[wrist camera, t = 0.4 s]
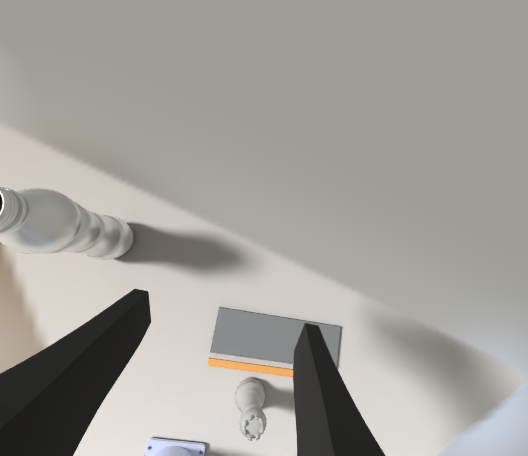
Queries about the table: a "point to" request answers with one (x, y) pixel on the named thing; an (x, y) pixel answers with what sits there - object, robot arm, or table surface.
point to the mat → (265, 335)
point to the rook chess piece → (251, 407)
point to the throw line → (250, 367)
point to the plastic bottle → (58, 225)
